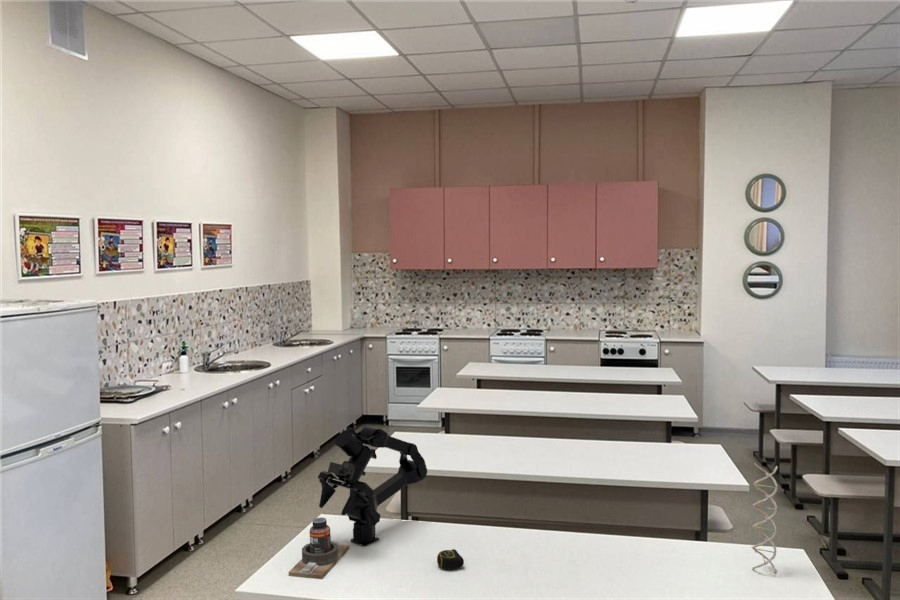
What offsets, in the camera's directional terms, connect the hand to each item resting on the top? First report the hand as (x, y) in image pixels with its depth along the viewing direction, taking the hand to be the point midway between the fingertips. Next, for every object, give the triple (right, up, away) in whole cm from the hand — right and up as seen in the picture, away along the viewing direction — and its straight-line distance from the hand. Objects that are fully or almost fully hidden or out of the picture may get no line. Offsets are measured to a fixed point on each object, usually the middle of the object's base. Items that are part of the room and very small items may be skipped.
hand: (331, 510), depth 206 cm
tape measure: (+35, -14, -6) cm, 38 cm away
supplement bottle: (-3, -13, -3) cm, 14 cm away
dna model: (+121, -13, -13) cm, 122 cm away
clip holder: (-3, -14, -3) cm, 14 cm away
